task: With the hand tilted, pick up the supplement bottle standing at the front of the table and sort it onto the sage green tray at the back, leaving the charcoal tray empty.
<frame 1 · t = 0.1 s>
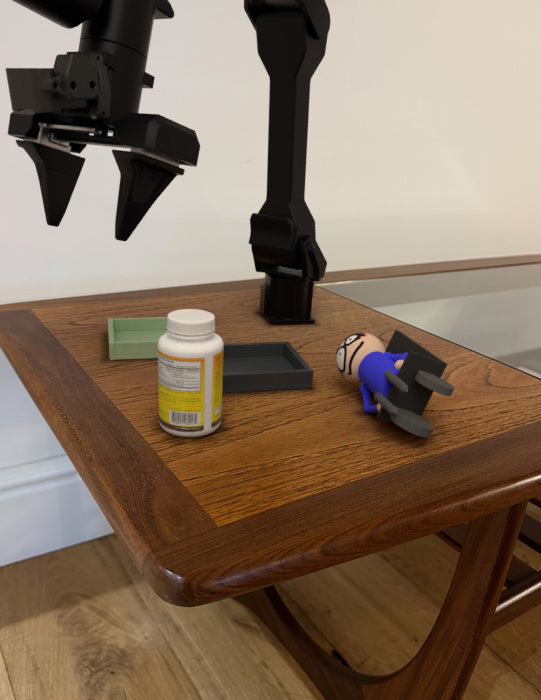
hand: (85, 233, 55), 15 cm above the table, tool pointing down, fingers open, 9 cm apart
charcoal tray: (249, 374, 67), on the table
supplement bottle: (189, 427, 55), on the table
sage tray: (157, 344, 74), on the table
character figurine: (385, 414, 60), on the table
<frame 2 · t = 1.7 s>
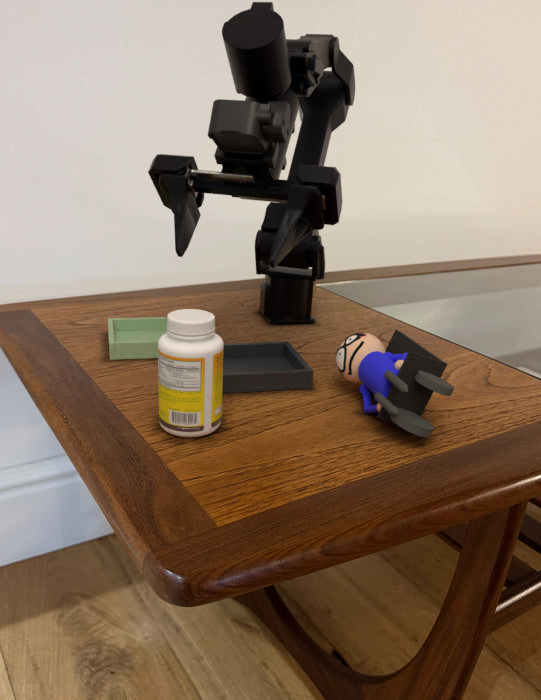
hand: (224, 259, 58), 13 cm above the table, tool tilted 45°, fingers open, 9 cm apart
nothing on the table moved.
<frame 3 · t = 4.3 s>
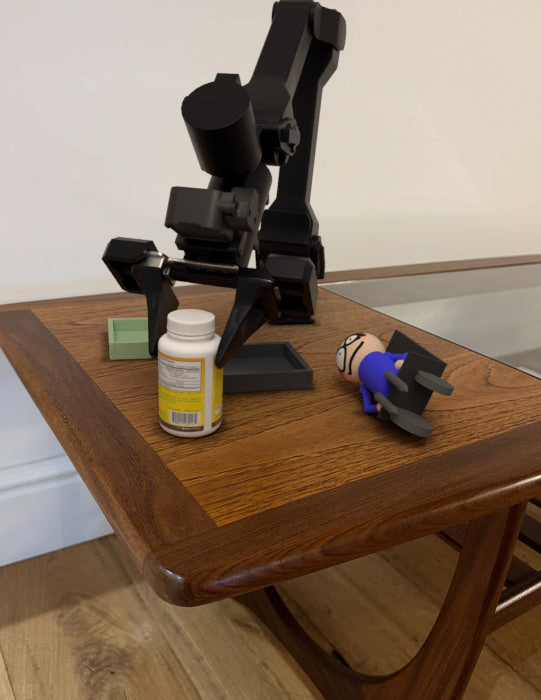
hand: (184, 361, 51), 7 cm above the table, tool tilted 45°, fingers closed on supplement bottle, 5 cm apart
supplement bottle: (190, 427, 55), on the table, touching gripper
everything else where it was.
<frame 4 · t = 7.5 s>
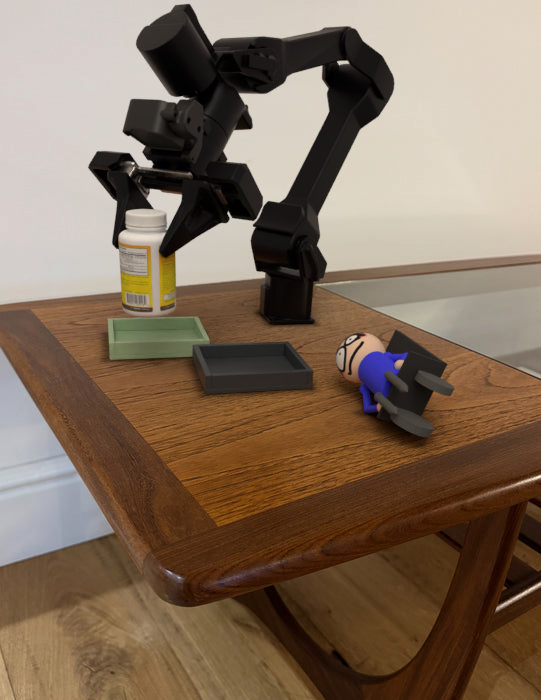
hand: (138, 250, 61), 13 cm above the table, tool tilted 45°, fingers closed on supplement bottle, 5 cm apart
supplement bottle: (149, 313, 64), point 6 cm above the table, touching gripper
everything else where it was.
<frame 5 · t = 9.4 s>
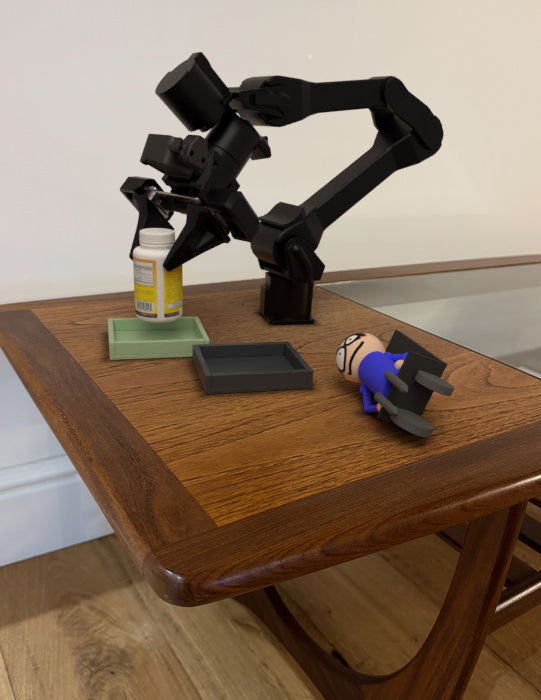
hand: (148, 264, 70), 10 cm above the table, tool tilted 45°, fingers closed on supplement bottle, 5 cm apart
supplement bottle: (158, 318, 73), point 3 cm above the table, touching gripper
everything else where it was.
when the fingers open (7 cm above the table, at t = 10.7 s): supplement bottle stays where it is, resting on sage tray.
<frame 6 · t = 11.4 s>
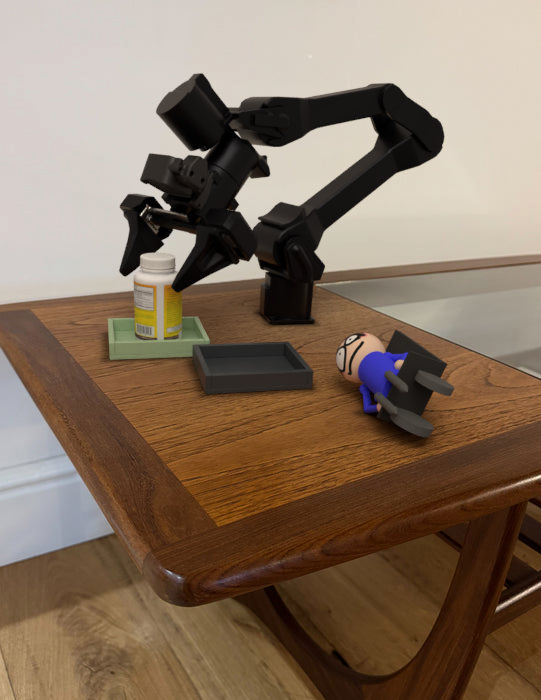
hand: (147, 281, 70), 8 cm above the table, tool tilted 45°, fingers open, 9 cm apart
supplement bottle: (158, 341, 74), resting on sage tray
everything else where it was.
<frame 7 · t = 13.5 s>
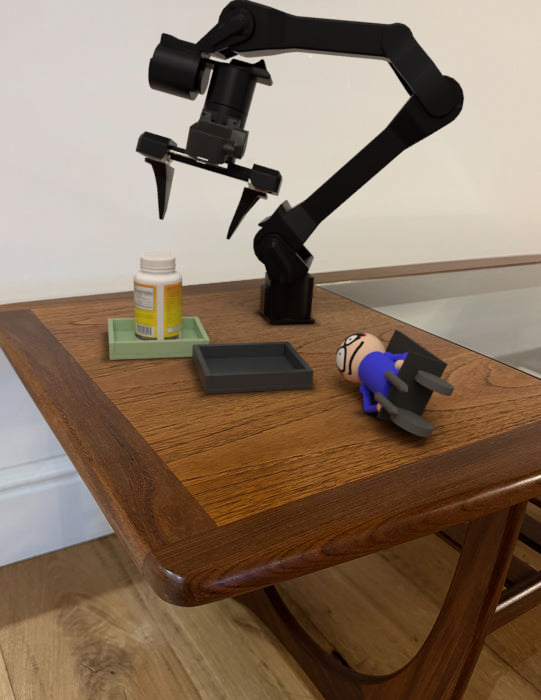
hand: (194, 229, 82), 12 cm above the table, tool tilted 15°, fingers open, 9 cm apart
nothing on the table moved.
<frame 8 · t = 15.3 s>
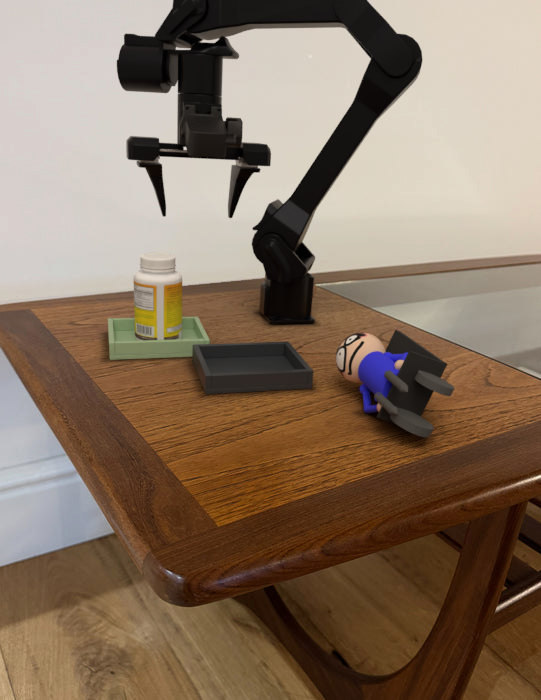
hand: (197, 216, 85), 13 cm above the table, tool pointing down, fingers open, 9 cm apart
nothing on the table moved.
at the end: supplement bottle 0.2 cm off-centre in the sage tray, point 0.3 cm above the sage tray's base; supplement bottle tilted 0°; the gripper is holding nothing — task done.
